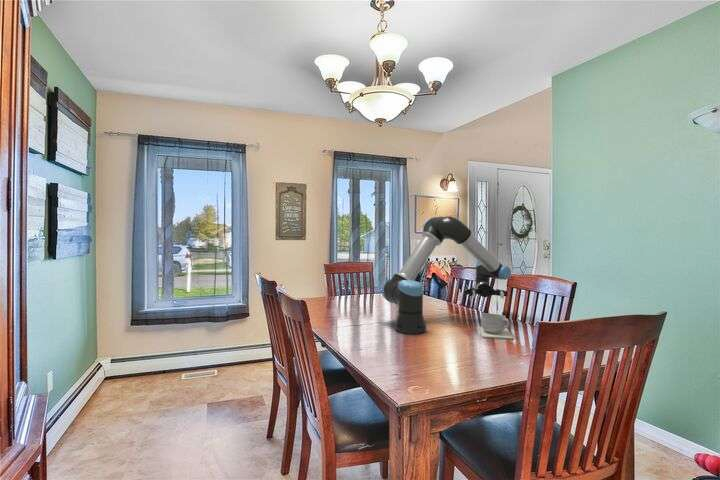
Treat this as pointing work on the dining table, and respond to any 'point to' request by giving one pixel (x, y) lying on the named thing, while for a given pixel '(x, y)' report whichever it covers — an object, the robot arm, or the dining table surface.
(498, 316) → the teacup
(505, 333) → the placemat
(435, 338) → the dining table surface
